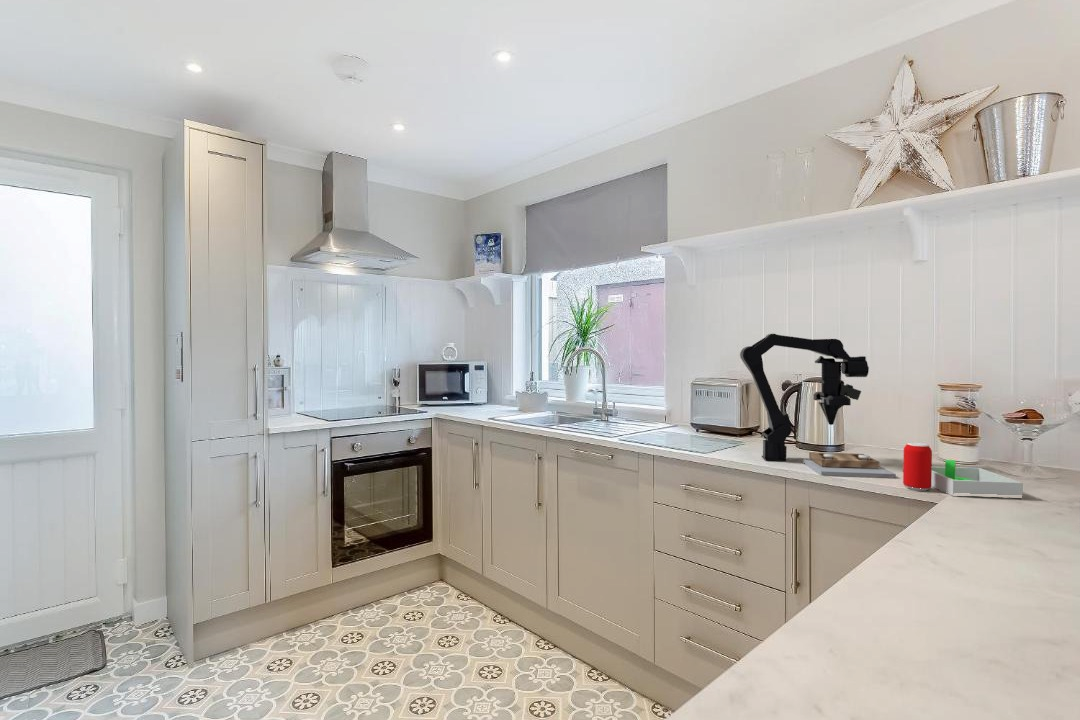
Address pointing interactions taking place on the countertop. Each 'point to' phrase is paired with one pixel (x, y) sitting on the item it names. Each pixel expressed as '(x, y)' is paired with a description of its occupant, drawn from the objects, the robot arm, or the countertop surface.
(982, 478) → the frame
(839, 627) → the countertop surface
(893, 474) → the boss board
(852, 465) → the panel
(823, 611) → the countertop surface
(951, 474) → the mechanical part
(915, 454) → the beverage can
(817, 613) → the countertop surface
